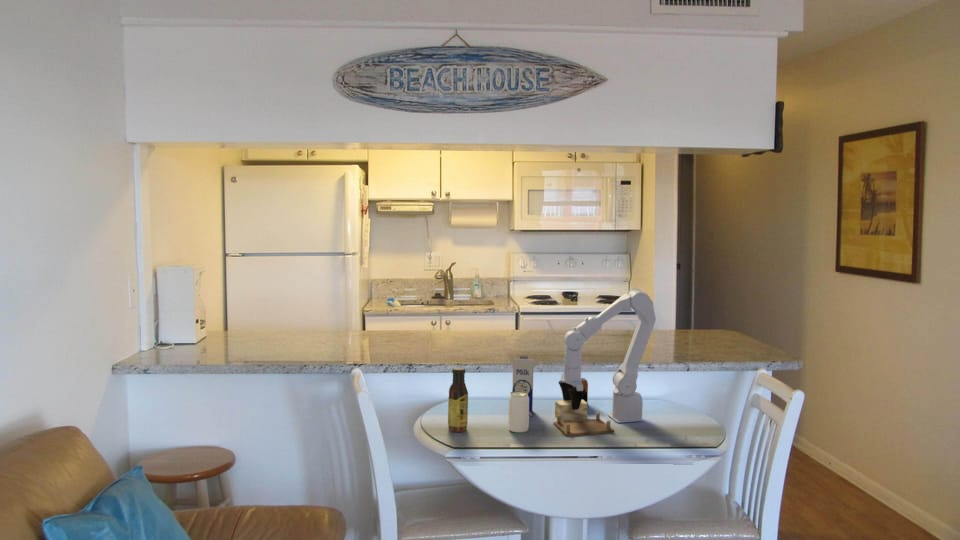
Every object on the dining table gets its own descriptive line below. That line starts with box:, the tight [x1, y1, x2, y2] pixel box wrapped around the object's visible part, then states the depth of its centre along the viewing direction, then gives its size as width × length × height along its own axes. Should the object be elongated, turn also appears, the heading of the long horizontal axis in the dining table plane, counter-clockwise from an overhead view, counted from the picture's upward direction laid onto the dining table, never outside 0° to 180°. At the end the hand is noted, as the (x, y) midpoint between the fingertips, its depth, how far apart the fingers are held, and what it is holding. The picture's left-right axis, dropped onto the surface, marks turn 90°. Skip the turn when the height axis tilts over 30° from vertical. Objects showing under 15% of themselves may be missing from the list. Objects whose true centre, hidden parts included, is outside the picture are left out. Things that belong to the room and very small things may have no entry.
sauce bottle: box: [447, 366, 469, 433], centre depth 197 cm, size 6×6×20 cm
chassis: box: [552, 411, 615, 437], centre depth 200 cm, size 16×11×3 cm
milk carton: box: [511, 355, 535, 418], centre depth 213 cm, size 7×7×20 cm
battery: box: [573, 377, 589, 403], centre depth 223 cm, size 4×7×10 cm, turn 84°
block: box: [554, 399, 589, 421], centre depth 210 cm, size 10×4×6 cm, turn 103°
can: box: [507, 391, 530, 434], centre depth 198 cm, size 6×6×12 cm
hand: (571, 405), depth 210 cm, fingers open, 7 cm apart
